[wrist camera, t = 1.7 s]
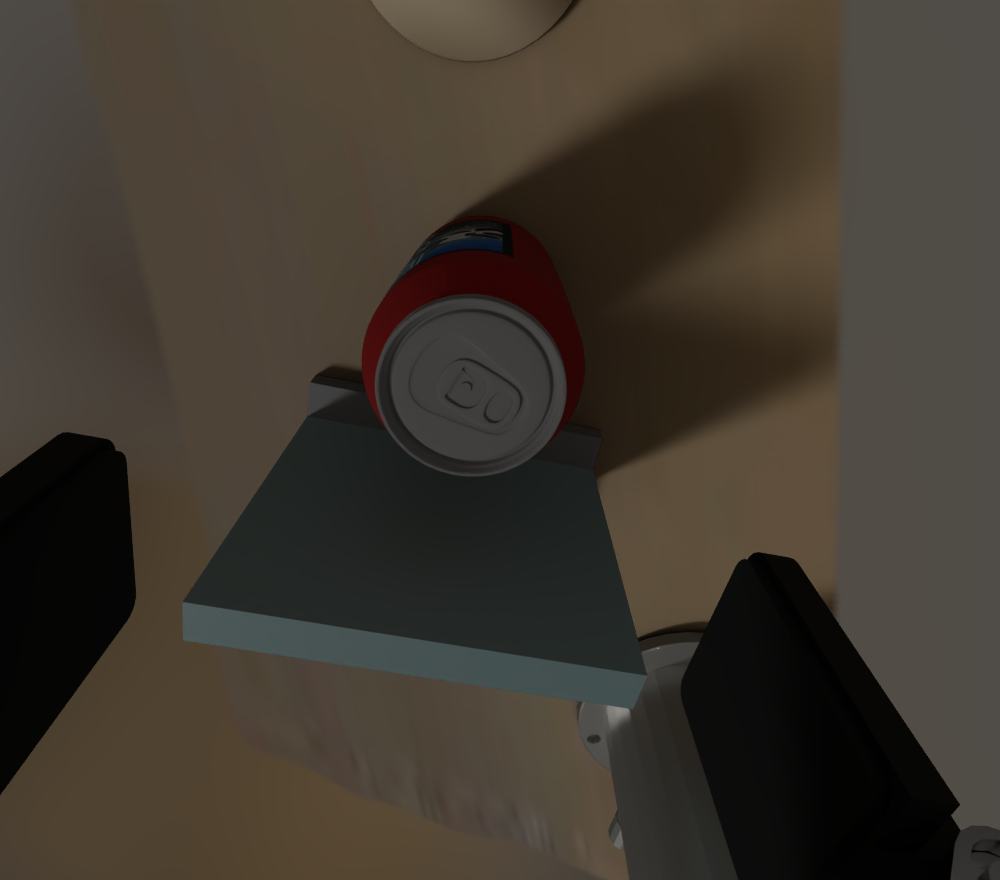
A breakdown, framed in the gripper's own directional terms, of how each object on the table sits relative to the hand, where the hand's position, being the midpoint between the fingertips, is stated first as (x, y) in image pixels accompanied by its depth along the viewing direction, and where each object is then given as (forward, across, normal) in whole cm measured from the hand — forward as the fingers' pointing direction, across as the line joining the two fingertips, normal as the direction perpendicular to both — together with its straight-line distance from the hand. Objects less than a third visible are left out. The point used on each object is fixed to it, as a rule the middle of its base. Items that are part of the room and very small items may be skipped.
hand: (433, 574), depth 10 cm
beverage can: (+21, 0, +1) cm, 21 cm away
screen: (+20, 0, +9) cm, 22 cm away
